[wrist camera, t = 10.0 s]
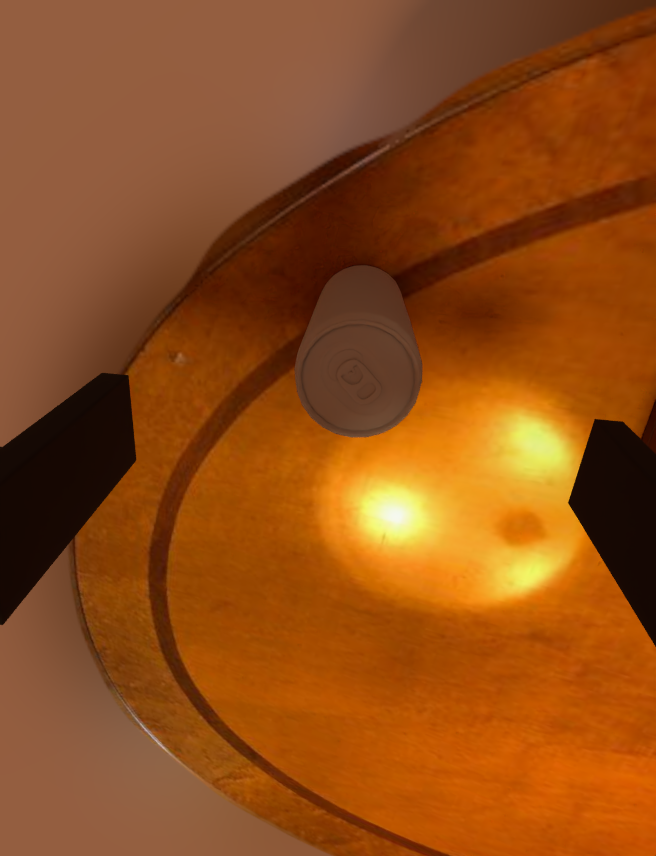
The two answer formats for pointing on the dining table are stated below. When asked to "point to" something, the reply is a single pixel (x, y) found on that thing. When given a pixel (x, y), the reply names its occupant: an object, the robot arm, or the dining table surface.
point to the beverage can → (359, 355)
